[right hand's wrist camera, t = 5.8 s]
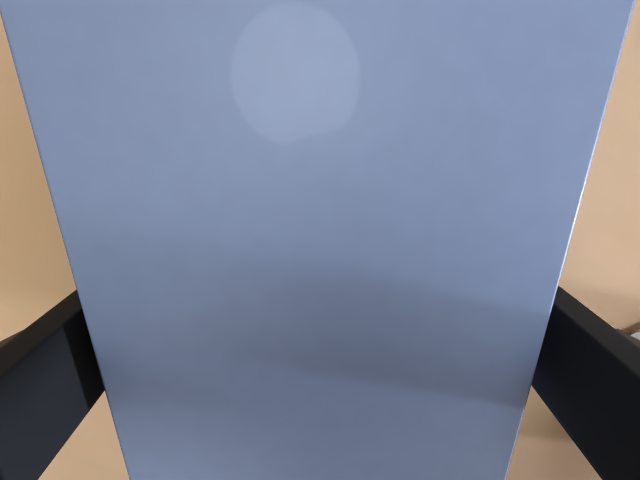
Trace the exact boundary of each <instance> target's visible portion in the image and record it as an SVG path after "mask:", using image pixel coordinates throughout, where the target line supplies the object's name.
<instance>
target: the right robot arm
mask: <svg viewBox="0 0 640 480" xmlns="http://www.w3.org/2000/svg"><path fill="white" fill-rule="evenodd" d="M531 385H532V387H533V388H534V389H535V391H536V392H537V393H538V395H539V396H540V397H541V399H542V400H543V401H544V403H545V404H546V405H547V407H548V408H549V409H550V411H551V412H552V413H553V415H554V416H555V417H556V419H557V420H558V421H559V423H560V424H561V425H562V427H563V428H564V429H565V431H566V432H567V433H568V435H569V436H570V437H571V439H572V440H573V441H574V443H575V444H576V445H577V447H578V448H579V449H580V451H581V452H582V453H583V455H584V456H585V457H586V459H587V460H588V461H589V463H590V464H591V465H592V467H593V468H594V469H595V471H596V472H597V473H598V475H599V476H600V477H601V479H602V480H640V340H639V339H637V338H635V337H633V336H631V335H629V334H627V333H625V332H623V331H621V330H619V329H614V328H613V327H612V326H610V325H609V324H608V323H606V322H605V321H604V320H602V319H601V318H600V317H598V316H597V315H596V314H595V313H593V312H592V311H591V310H589V309H588V308H587V307H585V306H584V305H583V304H582V303H580V302H579V301H578V300H576V299H575V298H574V297H572V296H571V295H570V294H568V293H567V292H566V291H565V290H563V289H562V288H561V287H559V286H558V287H557V291H556V294H555V298H554V302H553V306H552V309H551V313H550V317H549V320H548V324H547V328H546V331H545V335H544V339H543V343H542V346H541V350H540V354H539V357H538V361H537V365H536V368H535V372H534V376H533V379H532V383H531ZM104 391H105V388H104V385H103V381H102V377H101V374H100V370H99V367H98V363H97V359H96V356H95V352H94V349H93V345H92V341H91V338H90V334H89V331H88V327H87V323H86V320H85V316H84V313H83V309H82V305H81V302H80V298H79V295H78V291H77V290H75V291H74V292H73V293H72V294H70V295H69V296H68V297H66V298H65V299H64V300H62V301H61V302H60V303H58V304H57V305H56V306H55V307H53V308H52V309H51V310H49V311H48V312H47V313H45V314H44V315H43V316H42V317H40V318H39V319H38V320H36V321H35V322H34V323H32V324H31V325H30V326H28V327H27V328H26V329H25V330H22V331H20V332H18V333H16V334H14V335H12V336H10V337H8V338H6V339H5V340H3V341H1V342H0V480H38V479H39V477H40V476H41V475H42V473H43V472H44V471H45V469H46V468H47V467H48V465H49V464H50V463H51V461H52V460H53V459H54V457H55V456H56V455H57V453H58V452H59V451H60V449H61V448H62V447H63V445H64V444H65V443H66V441H67V440H68V439H69V437H70V436H71V435H72V433H73V432H74V431H75V429H76V428H77V427H78V425H79V424H80V423H81V421H82V420H83V419H84V417H85V416H86V415H87V413H88V412H89V411H90V409H91V408H92V407H93V405H94V404H95V403H96V401H97V400H98V399H99V397H100V396H101V395H102V393H103V392H104Z"/></svg>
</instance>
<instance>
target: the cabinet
mask: <svg viewBox="0 0 640 480" xmlns="http://www.w3.org/2000/svg"><path fill="white" fill-rule="evenodd" d="M634 3H635V0H0V14H1V17H2V21H3V24H4V28H5V32H6V35H7V39H8V42H9V46H10V50H11V53H12V57H13V60H14V64H15V68H16V71H17V75H18V78H19V82H20V86H21V89H22V93H23V96H24V100H25V104H26V107H27V111H28V114H29V118H30V122H31V125H32V129H33V132H34V136H35V140H36V143H37V147H38V150H39V154H40V158H41V161H42V165H43V168H44V172H45V176H46V179H47V183H48V186H49V190H50V194H51V197H52V201H53V204H54V208H55V212H56V215H57V219H58V222H59V226H60V230H61V233H62V237H63V240H64V244H65V248H66V251H67V255H68V258H69V262H70V266H71V269H72V273H73V277H74V280H75V284H76V287H77V291H78V295H79V298H80V302H81V305H82V309H83V313H84V316H85V320H86V323H87V327H88V331H89V334H90V338H91V341H92V345H93V349H94V352H95V356H96V359H97V363H98V367H99V370H100V374H101V377H102V381H103V385H104V388H105V392H106V395H107V399H108V403H109V406H110V410H111V413H112V417H113V421H114V424H115V428H116V431H117V435H118V439H119V442H120V446H121V449H122V453H123V457H124V460H125V464H126V467H127V471H128V475H129V478H130V480H505V479H506V476H507V472H508V468H509V464H510V461H511V457H512V453H513V450H514V446H515V442H516V439H517V435H518V431H519V428H520V424H521V420H522V416H523V413H524V409H525V405H526V402H527V398H528V394H529V391H530V387H531V383H532V379H533V376H534V372H535V368H536V365H537V361H538V357H539V354H540V350H541V346H542V343H543V339H544V335H545V331H546V328H547V324H548V320H549V317H550V313H551V309H552V306H553V302H554V298H555V294H556V291H557V287H558V283H559V280H560V276H561V272H562V269H563V265H564V261H565V258H566V254H567V250H568V246H569V243H570V239H571V235H572V232H573V228H574V224H575V221H576V217H577V213H578V209H579V206H580V202H581V198H582V195H583V191H584V187H585V184H586V180H587V176H588V173H589V169H590V165H591V161H592V158H593V154H594V150H595V147H596V143H597V139H598V136H599V132H600V128H601V124H602V121H603V117H604V113H605V110H606V106H607V102H608V99H609V95H610V91H611V88H612V84H613V80H614V76H615V73H616V69H617V65H618V62H619V58H620V54H621V51H622V47H623V43H624V39H625V36H626V32H627V28H628V25H629V21H630V17H631V14H632V10H633V6H634Z"/></svg>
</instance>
